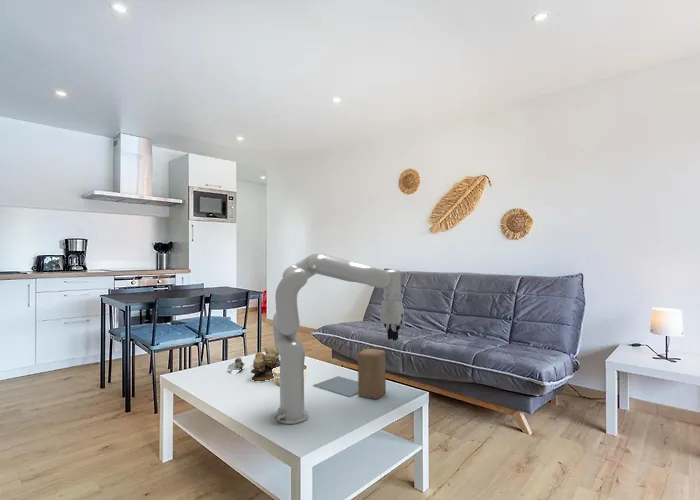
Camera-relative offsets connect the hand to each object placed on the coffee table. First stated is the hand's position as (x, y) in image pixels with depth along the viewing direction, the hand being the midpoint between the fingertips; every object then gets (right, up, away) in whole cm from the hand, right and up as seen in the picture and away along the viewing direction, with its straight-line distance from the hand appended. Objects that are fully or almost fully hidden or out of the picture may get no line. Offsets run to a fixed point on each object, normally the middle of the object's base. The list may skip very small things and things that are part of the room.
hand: (392, 339), depth 174 cm
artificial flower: (-76, -29, +50) cm, 95 cm away
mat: (-22, -28, +20) cm, 40 cm away
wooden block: (-9, -28, +8) cm, 30 cm away
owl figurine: (-62, -28, +35) cm, 77 cm away
